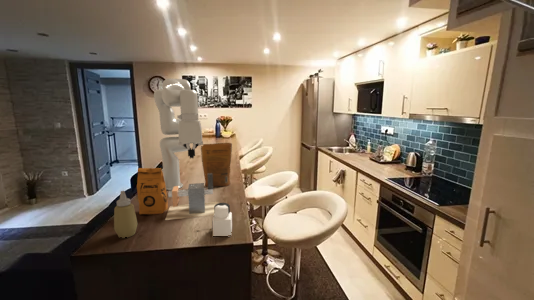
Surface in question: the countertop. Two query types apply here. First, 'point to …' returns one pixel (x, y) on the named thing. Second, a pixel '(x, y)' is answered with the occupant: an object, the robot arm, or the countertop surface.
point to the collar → (175, 196)
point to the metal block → (196, 198)
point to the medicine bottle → (222, 220)
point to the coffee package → (151, 191)
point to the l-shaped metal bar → (206, 190)
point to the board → (183, 211)
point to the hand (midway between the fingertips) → (191, 157)
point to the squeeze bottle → (124, 217)
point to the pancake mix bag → (217, 162)
